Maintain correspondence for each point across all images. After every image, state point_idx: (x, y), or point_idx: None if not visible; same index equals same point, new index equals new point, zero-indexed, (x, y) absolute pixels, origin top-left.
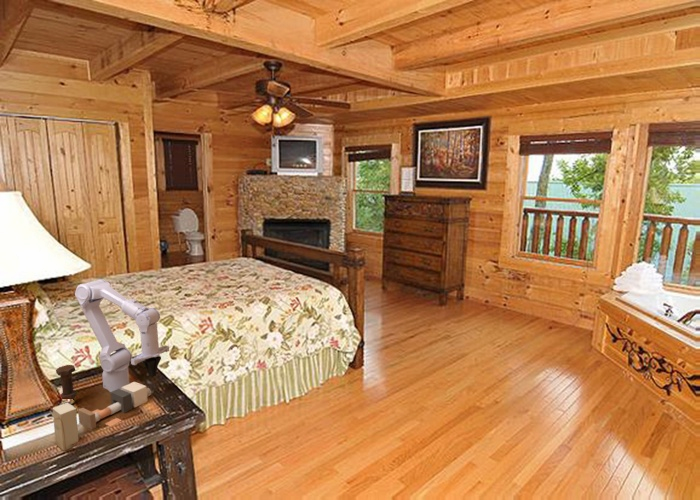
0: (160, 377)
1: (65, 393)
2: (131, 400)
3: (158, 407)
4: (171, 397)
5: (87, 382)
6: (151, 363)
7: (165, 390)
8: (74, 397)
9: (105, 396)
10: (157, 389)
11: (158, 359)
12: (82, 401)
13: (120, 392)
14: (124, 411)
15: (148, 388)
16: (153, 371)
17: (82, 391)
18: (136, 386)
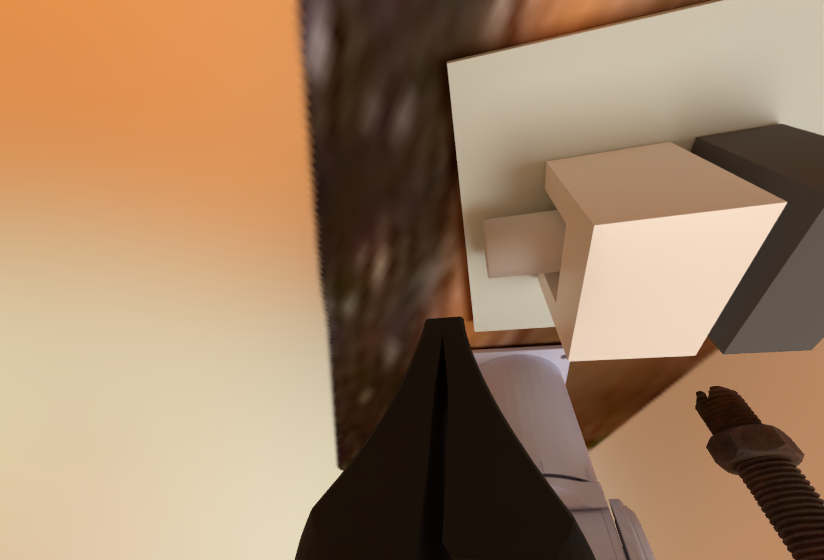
0: (335, 351)
1: (800, 470)
2: (755, 163)
3: (537, 12)
4: (376, 103)
5: None
6: (532, 511)
7: (367, 231)
8: (742, 428)
9: (581, 372)
10: (395, 273)
11: (366, 538)
12: (652, 395)
13: (807, 294)
14: (786, 127)
15: (492, 259)
16: (456, 359)
17: (587, 435)
18: (637, 289)
